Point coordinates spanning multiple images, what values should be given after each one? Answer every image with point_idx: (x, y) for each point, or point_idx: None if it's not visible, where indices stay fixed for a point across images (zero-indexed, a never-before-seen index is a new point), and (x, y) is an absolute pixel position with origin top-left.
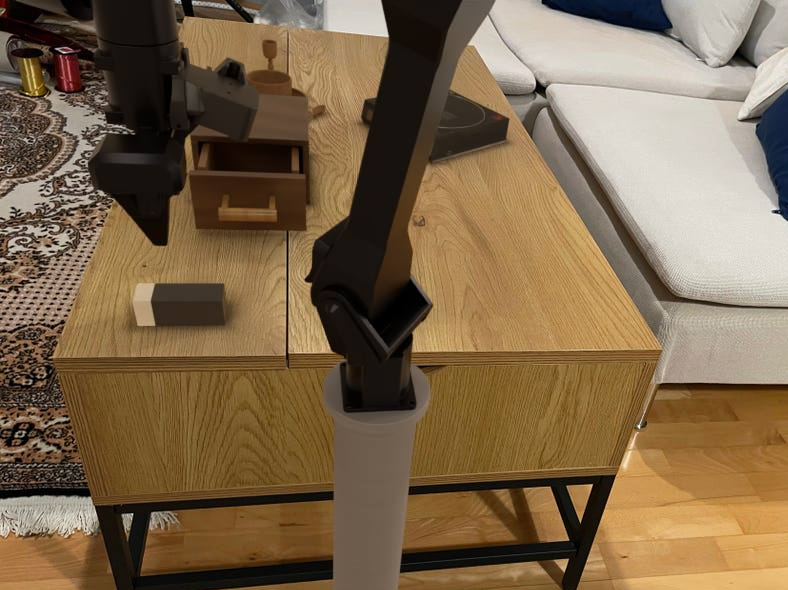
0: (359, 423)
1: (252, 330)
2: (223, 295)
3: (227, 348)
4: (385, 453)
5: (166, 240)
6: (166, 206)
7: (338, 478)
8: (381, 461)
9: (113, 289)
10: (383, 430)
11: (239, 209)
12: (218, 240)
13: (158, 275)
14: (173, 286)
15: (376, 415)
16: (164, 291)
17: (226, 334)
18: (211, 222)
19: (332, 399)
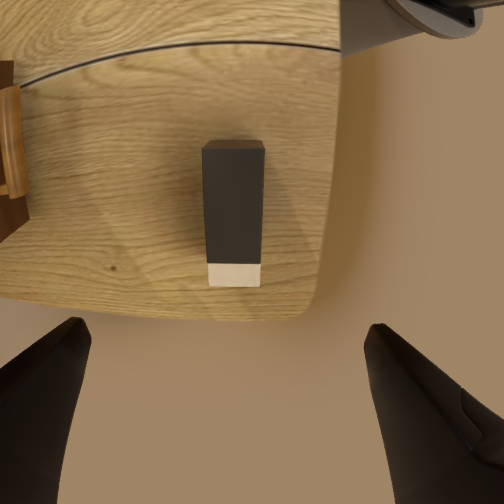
0: (481, 22)
1: (278, 97)
2: (236, 146)
3: (324, 136)
4: None
5: (395, 334)
6: (497, 418)
7: (390, 41)
8: None
9: (172, 295)
10: None
11: (7, 159)
12: (37, 184)
13: (130, 250)
14: (215, 235)
15: None
16: (231, 247)
17: (287, 137)
18: (17, 202)
19: (456, 30)
